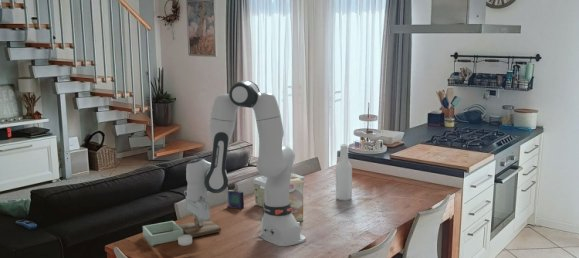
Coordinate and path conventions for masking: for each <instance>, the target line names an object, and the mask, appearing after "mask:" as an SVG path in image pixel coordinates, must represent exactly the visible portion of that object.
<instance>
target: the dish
mask: <svg viewBox="0 0 579 258" xmlns="http://www.w3.org/2000/svg"><path fill="white" fill-rule="evenodd" d="M181 235H185V234H184V233H183V229H182V228H181V227H180V226H179V224H178V223H176V221H174V220H169V221H165V222H159V223H153V224H147V225H142V238H143V239H144V240H145V241H146V242H147V243H148V244H149V246H150V247H151V248H155V245H158V244H159V245H160V244H164V243H169V242H175V241H178V237H179V236H181Z"/></svg>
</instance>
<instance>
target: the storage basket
mask: <svg viewBox="0 0 579 258" xmlns="http://www.w3.org/2000/svg"><path fill="white" fill-rule="evenodd" d="M291 179H301V180H302V181H303V188H304V186H305V176H302V175H300V174H296V173H291ZM266 181H267V177H264V176H262V175H261V176H258V177H255V178H253V182H252V184H253V190H254V201H255V205H257V206H258V207H260V208H261V207H262V208H263V209H264V203H265V192H264V187H265V184H266Z"/></svg>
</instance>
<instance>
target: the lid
mask: <svg viewBox="0 0 579 258" xmlns="http://www.w3.org/2000/svg"><path fill="white" fill-rule="evenodd" d="M198 221H199V218H194V217H193V221H189V222H185V223H180V224H178V225H179V226H180V227H181V228H182V229H183V234H184V235H191V236H192V238H196V237H197V238H198V237H201V235H202V236H205V235H206V234H207V235H211V233H212V234H215V232H217V233H219V232H220V233H221V232H222V228H221V226H219V225H217V224H216V223H215V222H214V221H212V220H211V219H210V218H209V219H207V220H203V225H202V226H199V225H198Z"/></svg>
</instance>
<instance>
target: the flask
mask: <svg viewBox="0 0 579 258" xmlns="http://www.w3.org/2000/svg"><path fill="white" fill-rule="evenodd" d="M244 201H245V200H244V191H243V190H241V189H240V190H239V189H238V186H237V187H234V188H233V189H229V190H227V207H228V208H232V209H240V210H243V209H245V203H244Z"/></svg>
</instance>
